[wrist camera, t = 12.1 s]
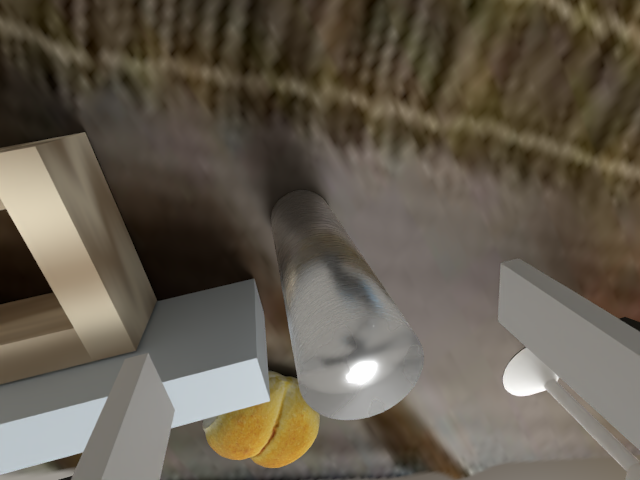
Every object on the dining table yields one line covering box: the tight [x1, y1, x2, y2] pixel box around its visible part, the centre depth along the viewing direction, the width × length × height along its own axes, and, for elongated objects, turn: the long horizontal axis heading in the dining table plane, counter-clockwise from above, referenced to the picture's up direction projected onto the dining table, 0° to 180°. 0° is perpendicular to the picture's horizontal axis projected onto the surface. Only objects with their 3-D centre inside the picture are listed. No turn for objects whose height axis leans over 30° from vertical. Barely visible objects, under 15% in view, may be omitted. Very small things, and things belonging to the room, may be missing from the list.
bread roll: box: [203, 371, 320, 468], centre depth 28 cm, size 8×9×4 cm
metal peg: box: [271, 190, 424, 420], centre depth 17 cm, size 4×4×14 cm
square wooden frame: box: [0, 132, 157, 384], centre depth 19 cm, size 11×11×5 cm
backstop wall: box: [0, 279, 270, 475], centre depth 21 cm, size 3×24×8 cm, turn 99°
